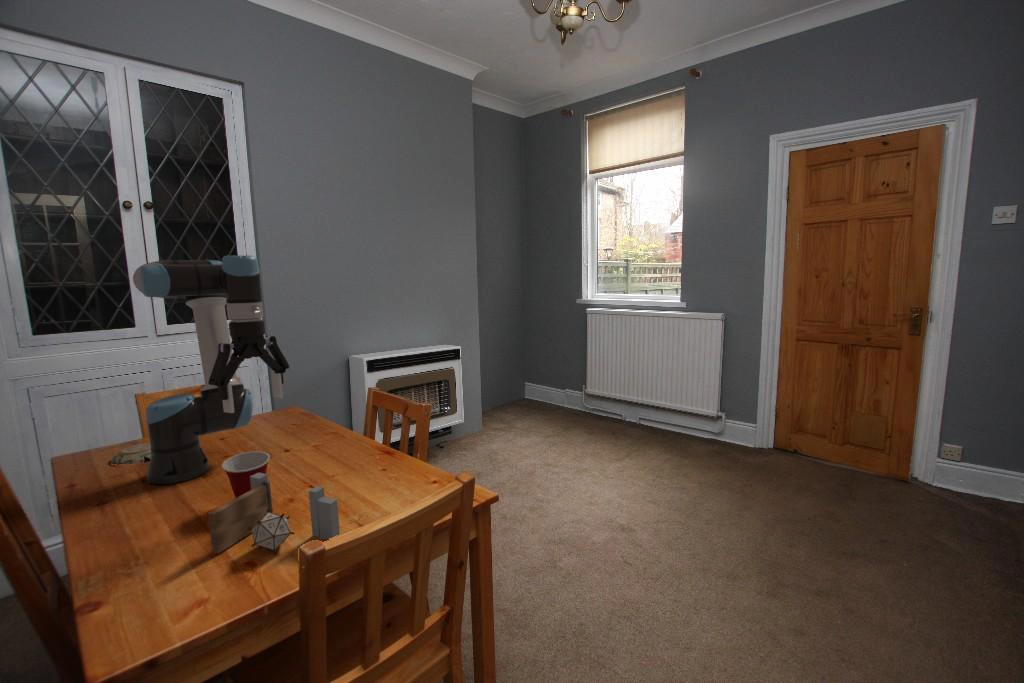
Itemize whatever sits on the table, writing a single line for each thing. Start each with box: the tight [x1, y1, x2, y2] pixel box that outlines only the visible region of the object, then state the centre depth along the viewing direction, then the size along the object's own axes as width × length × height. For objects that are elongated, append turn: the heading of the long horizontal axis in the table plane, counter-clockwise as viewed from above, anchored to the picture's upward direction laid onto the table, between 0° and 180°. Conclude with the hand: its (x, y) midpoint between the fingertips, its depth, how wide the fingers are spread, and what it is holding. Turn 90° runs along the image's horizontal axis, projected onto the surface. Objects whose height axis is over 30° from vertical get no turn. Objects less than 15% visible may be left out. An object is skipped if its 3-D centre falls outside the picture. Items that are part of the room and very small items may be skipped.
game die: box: [248, 508, 296, 555], centre depth 101 cm, size 9×8×10 cm
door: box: [207, 480, 274, 555], centre depth 106 cm, size 15×3×9 cm, turn 162°
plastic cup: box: [221, 450, 271, 498], centre depth 120 cm, size 11×11×12 cm
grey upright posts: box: [250, 473, 341, 540], centre depth 109 cm, size 25×2×11 cm, turn 66°
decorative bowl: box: [110, 442, 151, 465], centre depth 152 cm, size 15×4×15 cm
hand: (254, 404), depth 117 cm, fingers open, 13 cm apart
